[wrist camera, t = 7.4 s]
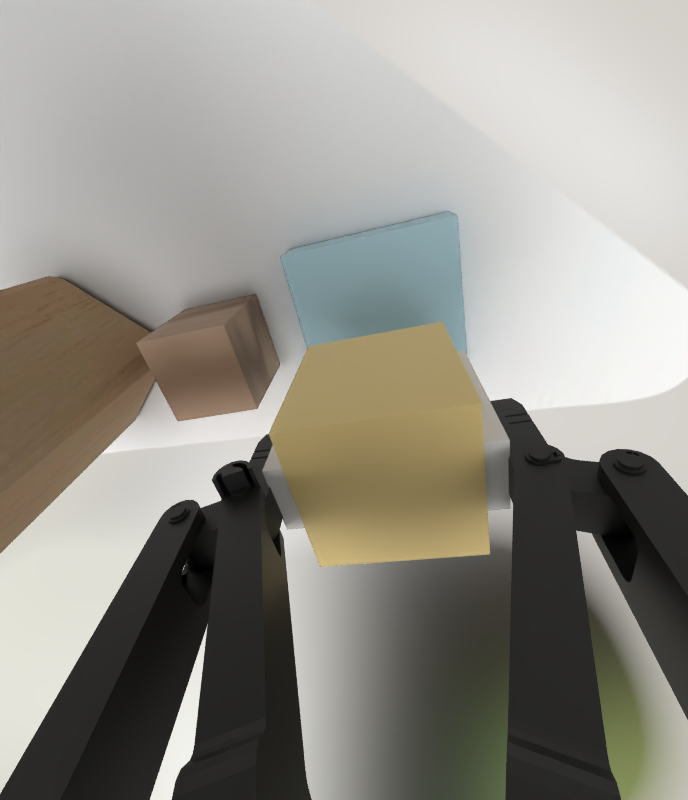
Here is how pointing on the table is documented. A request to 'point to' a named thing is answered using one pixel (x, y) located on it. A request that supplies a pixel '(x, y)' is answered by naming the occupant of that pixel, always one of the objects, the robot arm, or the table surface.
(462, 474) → the brick
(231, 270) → the table surface
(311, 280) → the base brick
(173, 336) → the brick
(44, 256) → the table surface
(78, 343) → the wooden block
